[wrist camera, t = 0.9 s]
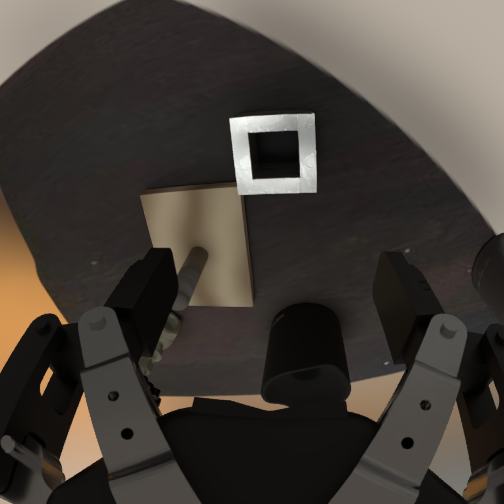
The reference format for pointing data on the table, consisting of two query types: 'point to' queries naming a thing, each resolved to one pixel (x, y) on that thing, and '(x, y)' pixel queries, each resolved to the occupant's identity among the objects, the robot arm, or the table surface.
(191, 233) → the shaft stand
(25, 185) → the table surface
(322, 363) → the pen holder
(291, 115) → the block
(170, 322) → the valve
